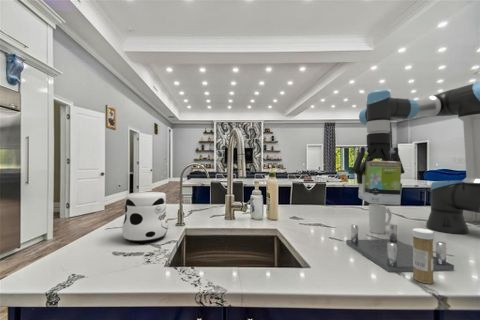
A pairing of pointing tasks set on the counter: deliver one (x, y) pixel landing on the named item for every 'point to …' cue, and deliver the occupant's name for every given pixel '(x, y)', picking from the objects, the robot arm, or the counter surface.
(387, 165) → the tea box
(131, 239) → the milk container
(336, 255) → the counter surface
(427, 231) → the sprinkles bottle
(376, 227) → the mug
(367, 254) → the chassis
